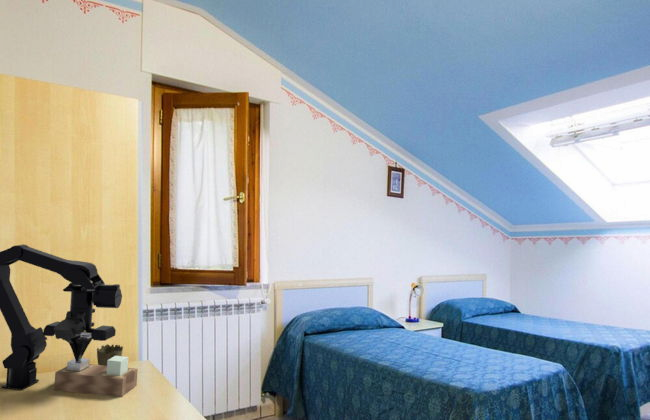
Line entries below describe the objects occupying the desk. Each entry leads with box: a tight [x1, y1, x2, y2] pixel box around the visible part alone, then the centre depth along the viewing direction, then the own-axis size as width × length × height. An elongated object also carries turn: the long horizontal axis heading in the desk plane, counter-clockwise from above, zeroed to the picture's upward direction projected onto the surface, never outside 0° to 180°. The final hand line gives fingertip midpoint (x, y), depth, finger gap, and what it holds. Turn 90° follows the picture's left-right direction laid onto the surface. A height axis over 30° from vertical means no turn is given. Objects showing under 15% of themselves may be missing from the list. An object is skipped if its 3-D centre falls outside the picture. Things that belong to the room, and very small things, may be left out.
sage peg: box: [107, 355, 129, 376], centre depth 126 cm, size 4×4×5 cm
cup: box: [96, 344, 124, 366], centre depth 138 cm, size 8×7×8 cm
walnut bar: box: [53, 363, 139, 398], centre depth 126 cm, size 20×8×5 cm, turn 85°
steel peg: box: [66, 357, 90, 372], centre depth 127 cm, size 4×4×5 cm
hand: (78, 360), depth 127 cm, fingers closed, pressing on steel peg
